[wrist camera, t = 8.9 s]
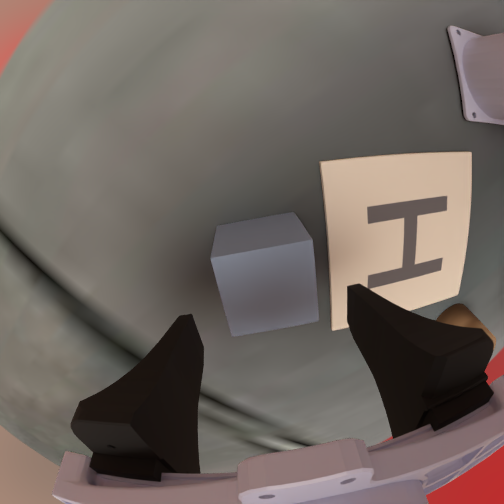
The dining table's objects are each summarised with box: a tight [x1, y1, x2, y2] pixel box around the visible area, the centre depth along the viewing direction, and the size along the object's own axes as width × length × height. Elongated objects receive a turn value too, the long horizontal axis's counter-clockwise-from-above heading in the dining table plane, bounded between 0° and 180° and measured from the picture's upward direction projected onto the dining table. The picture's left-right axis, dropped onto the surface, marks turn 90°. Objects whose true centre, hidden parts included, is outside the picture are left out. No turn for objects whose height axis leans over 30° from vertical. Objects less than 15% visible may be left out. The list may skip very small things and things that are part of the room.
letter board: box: [319, 151, 472, 331], centre depth 19 cm, size 13×13×1 cm
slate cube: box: [210, 212, 319, 337], centre depth 17 cm, size 5×5×5 cm
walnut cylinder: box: [436, 303, 496, 350], centre depth 21 cm, size 5×5×6 cm
